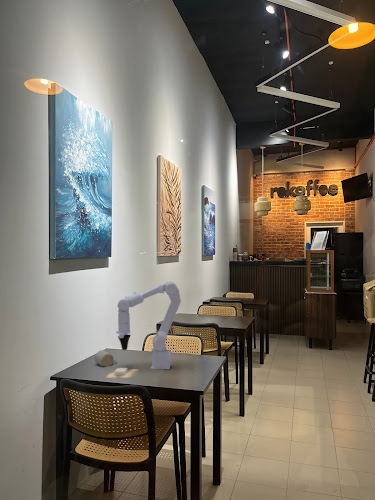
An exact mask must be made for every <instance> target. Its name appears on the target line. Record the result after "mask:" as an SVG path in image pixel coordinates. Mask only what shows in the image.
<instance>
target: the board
mask: <svg viewBox="0 0 375 500" xmlns="http://www.w3.org/2000/svg"><path fill="white" fill-rule="evenodd" d="M116 369H117V368H115V369H112V370H110V371H109V373H108V374H107V375H105V377H104V379H105V378H106V379H107V378H108V379H109V378H110V379H111V378H116V379H117V378H118V379H119V378H121V379H123V378H129V379H130V378H131V379H133V378H136V376H137V374H138V373H139V372H140V370H141V369H139V368H135V369H134V368H132V369H130V368H128V371H127V373H126V374H125V375H114V371H115V370H116Z"/></svg>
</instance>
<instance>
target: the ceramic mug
mask: <svg viewBox="0 0 375 500" xmlns="http://www.w3.org/2000/svg"><path fill="white" fill-rule="evenodd" d="M94 362H95V363H96V364H97V365H99V366H101V367H105V368H106V367H111V366H112V365H113V364H114V365H116V364H118V361H117V360H115V359H114V356H113V354H111V353H110V352H108V351H106V350H103V349H100V350H99V351H96V354H95V356H94Z"/></svg>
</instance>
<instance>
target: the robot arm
mask: <svg viewBox="0 0 375 500" xmlns="http://www.w3.org/2000/svg"><path fill="white" fill-rule="evenodd" d="M179 289H180V288H178V286H177V284H176V283H175V282H172V281H167V282H166V283H161V284H158V285H156V286H153V287H151V288H149V289H148V290H146V291H144V292H139V291H138V292H136V291H135V292H133V293H132V294H131V295H129V296H125V297H124V298H122V299H120V300H118V302H117V308H118V311H117V312H118V315H117V316H118V317H117V321H118V323H117V324H118V330H117V331H116V332H115V333H116V334H118V336H117V337H118V340H119V342H120V346H121V350H122V351H127V350H128V347H129V341H130V338H131V329H130V328H131V325H130V324H131V319H130V318H131V315H130V314H131V313H130V308H133V307H135V306H137V305H140V304H143V303H144V301H145V299H148V298H149V297H152V296H155V295H157V294H165V293H166V295H167V296H168V297H169V300H170V304H169V306H168V308H167V310H166V313H165V316H164V317H163V320H162V321H161V325H160V327H159V330H158V331H157V333H156V335H155V336H154V337H153V339H152V347H153V348H152V349H151V360H152V361H151V362H152V363H151V364H152V365H151V367H150V369H153V370H154V369H155V370H156V369H157V370H159V369H163V370H170V368H171V366H172V359H171V350H170V349H167V347H166V344H167V343H166V340H167V338H168V335H169V334H168V333H169V332H170V329H171V327H172V324H173V322H174V320H175V316H176V315H177V312H178V310H179V307H180V305H181V296H180V290H179Z"/></svg>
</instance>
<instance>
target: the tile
mask: <svg viewBox="0 0 375 500" xmlns="http://www.w3.org/2000/svg"><path fill="white" fill-rule="evenodd" d="M115 369H116V370H115V371H114V375H125V374H126V373H127V371H128V369H129V368H128V367H117V368H115Z"/></svg>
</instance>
